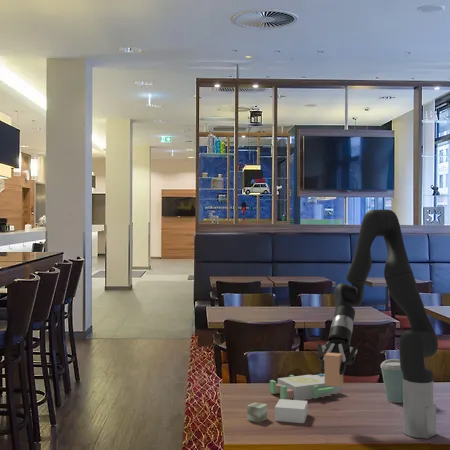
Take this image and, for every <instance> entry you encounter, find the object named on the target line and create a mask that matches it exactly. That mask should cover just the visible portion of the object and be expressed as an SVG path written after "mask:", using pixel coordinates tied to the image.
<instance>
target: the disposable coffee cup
mask: <svg viewBox="0 0 450 450" xmlns="http://www.w3.org/2000/svg"><path fill="white" fill-rule="evenodd" d="M380 369H381V374H382V380H383V386H384V390H385V391H384V392H385V396H386V399H387V401H388V402H390V403H393V404H394V403H396V404H397V403H399V404H400V403H403V373H402V370H401V367H400V358H392V359H390V358H389V359H385V360H384V361H382V362H381V363H380Z"/></svg>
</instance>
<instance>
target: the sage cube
mask: <svg viewBox="0 0 450 450" xmlns="http://www.w3.org/2000/svg"><path fill="white" fill-rule="evenodd" d="M246 408H247V409H246V410H247V412H246V414H247V416H246V418H247V421H249V422H255V423H263V422H264V421H266V420H268V404H267V403H261V402H256V401H255V402H253V403H251V404H248V405H247V407H246Z"/></svg>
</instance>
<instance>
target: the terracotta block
mask: <svg viewBox="0 0 450 450" xmlns="http://www.w3.org/2000/svg"><path fill="white" fill-rule="evenodd" d="M323 357H324V370H325V373H324V374H325V385H329V386H338V387H340V388H341V386H342V385H343V384H344V374H342V375H340V373H339V370H340V365H341V362H342V354H340V353H332V352H331V353H326V352H325V354H323Z"/></svg>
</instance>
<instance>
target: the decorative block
mask: <svg viewBox="0 0 450 450" xmlns="http://www.w3.org/2000/svg"><path fill="white" fill-rule="evenodd" d="M269 393H271V394H273V395H274V394H279V399H287V400H292V399H293V400H301V401H307V400H312V398H314V399H319V398H318V397H322V398H325V397H324V396H329V397H331V395H330V394H335V395H337V394H336V393H340V394H341V386H340V387H338V386H329V385H325V373H319V374H304V375H296V376H295V375H294V374H289V375H288V376H286V377H278V378H277V381H276V380H274V379H271V380H269ZM290 398H291V399H290ZM306 399H307V400H306Z"/></svg>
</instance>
